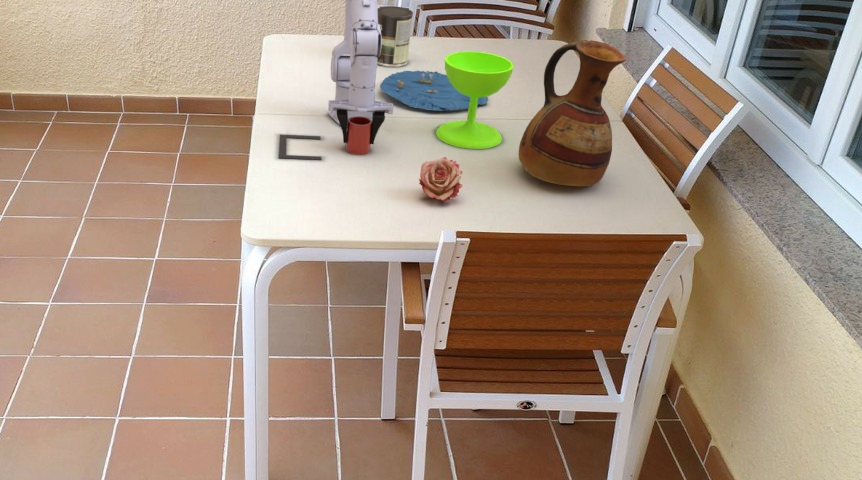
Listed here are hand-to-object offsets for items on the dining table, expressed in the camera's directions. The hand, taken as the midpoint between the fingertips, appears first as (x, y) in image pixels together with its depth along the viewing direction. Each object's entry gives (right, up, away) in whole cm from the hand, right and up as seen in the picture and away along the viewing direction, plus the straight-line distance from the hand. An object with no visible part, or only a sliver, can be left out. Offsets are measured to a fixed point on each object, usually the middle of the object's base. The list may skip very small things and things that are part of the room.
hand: (358, 142), depth 222 cm
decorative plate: (+20, +21, +35) cm, 46 cm away
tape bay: (-13, -1, 0) cm, 13 cm away
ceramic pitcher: (+45, -9, -5) cm, 46 cm away
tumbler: (0, -2, +1) cm, 2 cm away
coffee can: (+10, +36, +56) cm, 67 cm away
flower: (+16, -16, -18) cm, 29 cm away
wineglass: (+27, +4, +12) cm, 30 cm away
